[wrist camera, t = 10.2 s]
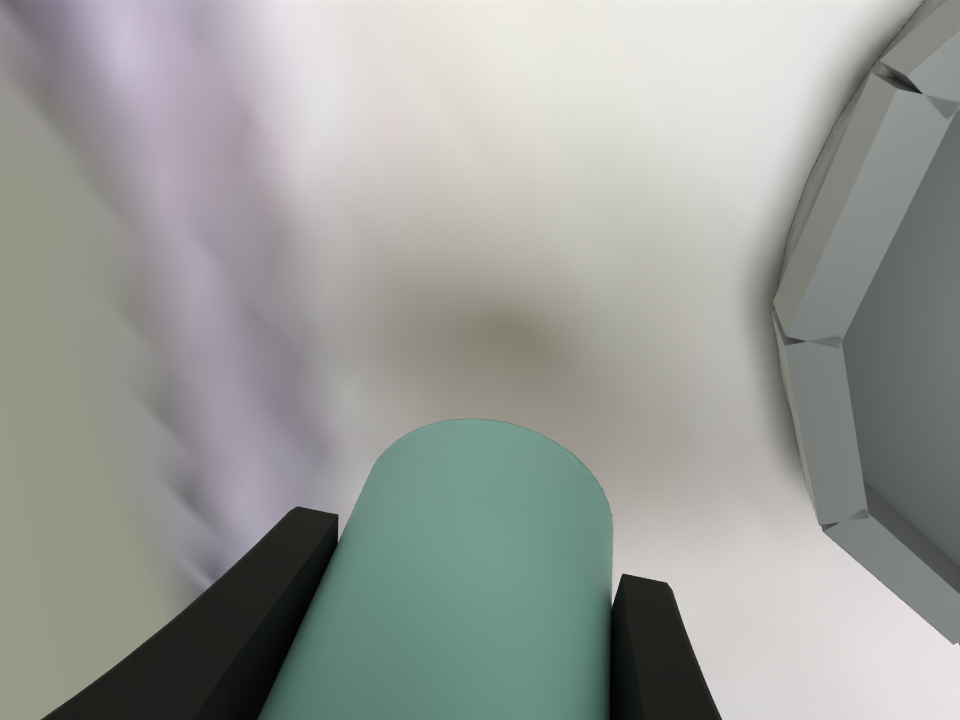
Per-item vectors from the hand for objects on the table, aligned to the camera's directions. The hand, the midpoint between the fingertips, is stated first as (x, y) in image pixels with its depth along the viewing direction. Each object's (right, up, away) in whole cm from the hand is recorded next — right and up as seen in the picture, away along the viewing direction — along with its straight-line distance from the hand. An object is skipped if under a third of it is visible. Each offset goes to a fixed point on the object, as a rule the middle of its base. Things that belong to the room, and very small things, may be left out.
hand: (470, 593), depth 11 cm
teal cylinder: (0, +1, +1) cm, 2 cm away
